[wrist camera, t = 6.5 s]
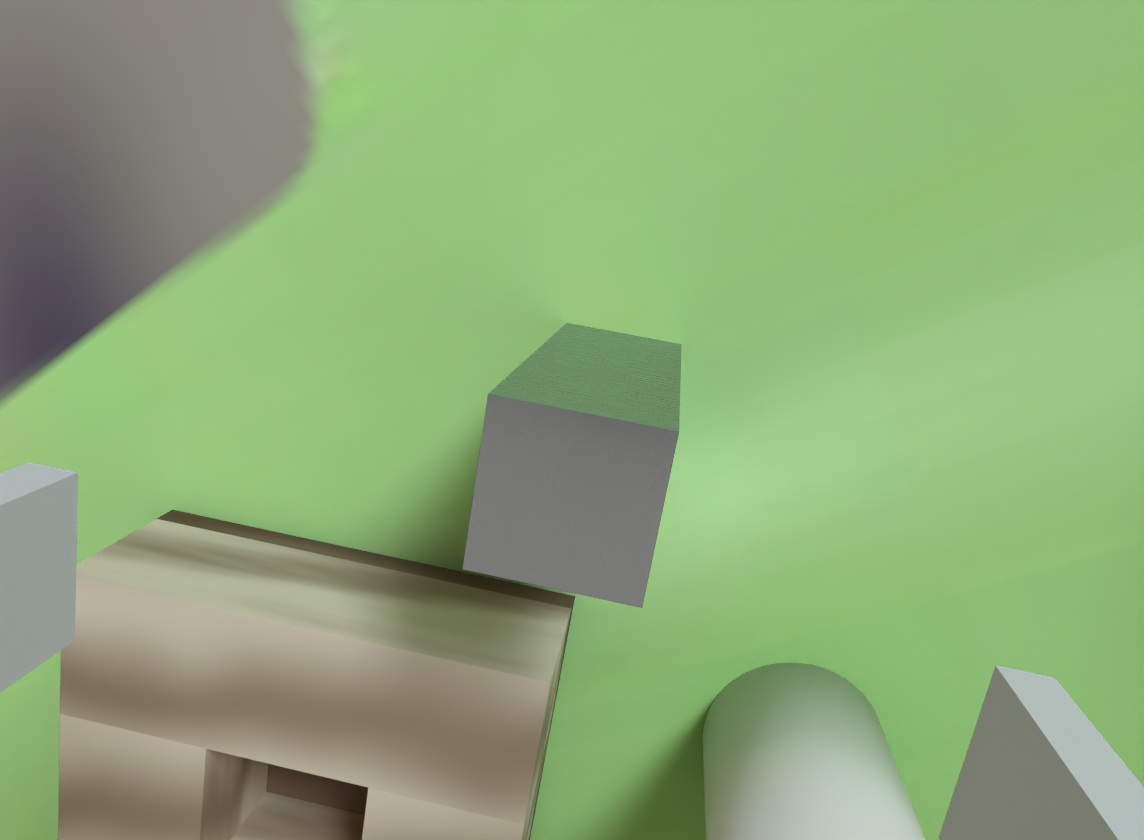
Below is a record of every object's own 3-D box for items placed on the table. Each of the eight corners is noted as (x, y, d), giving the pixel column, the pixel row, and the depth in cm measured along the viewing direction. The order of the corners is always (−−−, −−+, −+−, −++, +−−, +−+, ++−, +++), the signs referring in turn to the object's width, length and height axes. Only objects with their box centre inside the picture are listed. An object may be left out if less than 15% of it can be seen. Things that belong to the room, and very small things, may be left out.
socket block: (172, 510, 33) (61, 573, 27) (574, 596, 31) (550, 682, 26) (155, 849, 37) (56, 967, 31) (511, 938, 35) (477, 1080, 30)
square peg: (567, 323, 29) (487, 393, 17) (681, 344, 29) (678, 431, 17) (548, 433, 30) (462, 569, 18) (658, 455, 30) (642, 607, 18)
